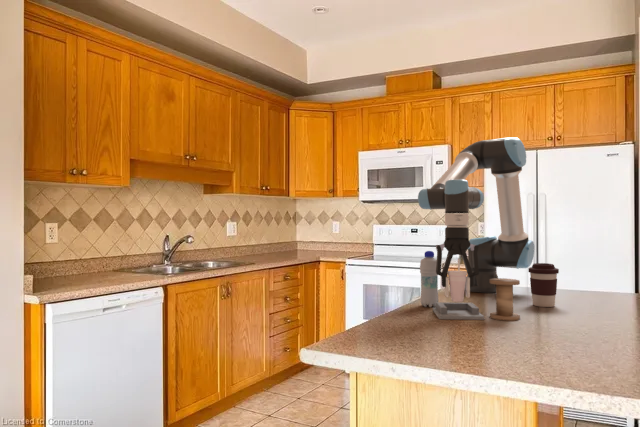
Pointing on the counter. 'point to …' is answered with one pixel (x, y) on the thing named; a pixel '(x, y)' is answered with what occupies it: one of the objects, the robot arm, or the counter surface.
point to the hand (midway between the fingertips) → (457, 296)
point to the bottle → (429, 280)
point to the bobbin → (504, 299)
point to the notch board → (457, 311)
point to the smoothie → (457, 283)
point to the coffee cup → (543, 284)
